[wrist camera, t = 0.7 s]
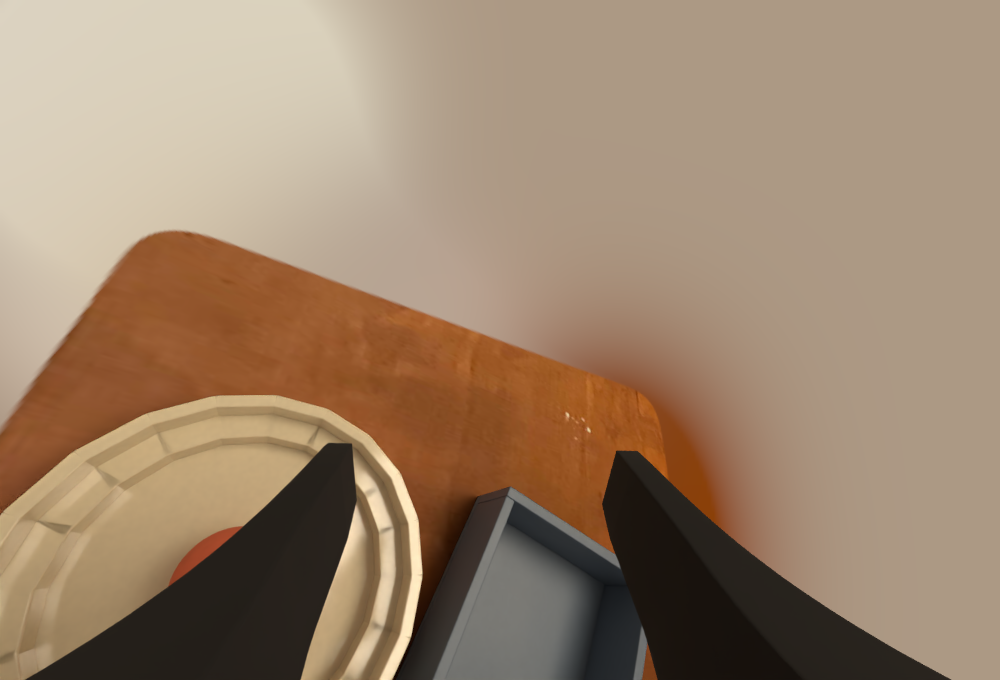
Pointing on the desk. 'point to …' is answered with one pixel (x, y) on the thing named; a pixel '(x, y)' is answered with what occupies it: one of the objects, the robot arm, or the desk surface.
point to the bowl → (201, 531)
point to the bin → (527, 603)
